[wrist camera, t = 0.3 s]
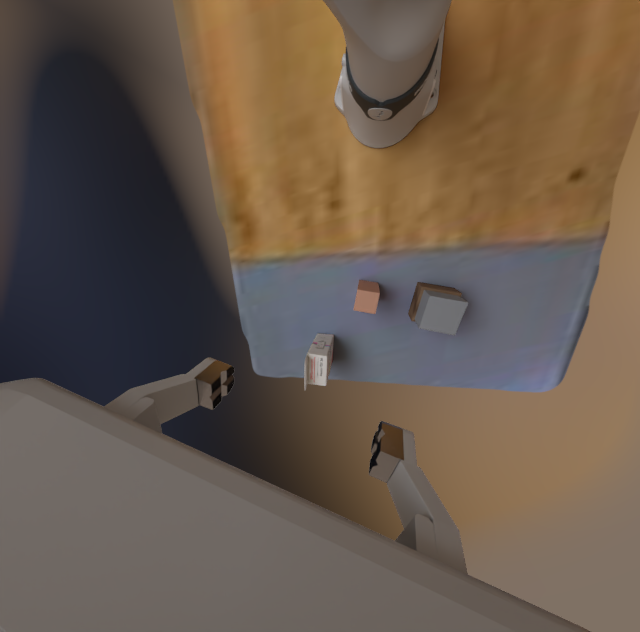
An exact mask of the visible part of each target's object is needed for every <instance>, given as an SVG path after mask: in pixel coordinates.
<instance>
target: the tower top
mask: <svg viewBox="0 0 640 632" xmlns="http://www.w3.org/2000/svg"><path fill="white" fill-rule="evenodd" d="M467 305H468V302H467V301H465V300H464V299H462V298H461V297H460V296H457V295H451V294H446V293H440V292H435V291H429V290H424V291H423V294H422V298H421V301H420V304H419V307H418V310H417V313H416V316H415V319H414V320H415V322H416V324H417V326H418V327H419V328H420V329H425V330H430V331H435V332H440V333H445V334H450V335H455V334H456V332H457V329H458V327H459V324H460V322H461V319H462V317H463V314H464V312H465V310H466V307H467Z"/></svg>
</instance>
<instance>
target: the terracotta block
mask: <svg viewBox="0 0 640 632" xmlns="http://www.w3.org/2000/svg"><path fill="white" fill-rule="evenodd" d="M379 295H380V291H379V285H378V283H376V282H370V281H364V280H359V285H358V290H357V295H356V300H355V305H354V310H356V311H361V312H366V313H372V314H375V312H376V308H377V304H378V300H379Z"/></svg>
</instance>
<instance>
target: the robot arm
mask: <svg viewBox="0 0 640 632" xmlns="http://www.w3.org/2000/svg"><path fill="white" fill-rule="evenodd" d="M323 1H324V2H325V3H326V5H327V6H328V7H329V9H330V10H331V11H332V13H333V14H334V16H335V17H336V18H337V20H338V22H339V23H340V25H341V27H342V29H343V32H344V36H345V41H346V54H343V58H342V66H343V67H342V71H341V75H340V79H339V82H338V86H337V90H336V93H335V105H336V107H337V108H338V110H339V111H340V112H341V113H342V114H343V115H344V116H345V118H346V120H347V122H348V125H349V128H350V130H351V132H352V133H353V135H354V136H355V137H356V138H357V139H358V140H359V141H360V142H361V143H363V144H364V145H366V146H369V147H373V148H384V147H388V146H391V145H394V144H396V143H397V142H399V141H400V140H402V139H403V138H404V137H405V136H407V135H408V134H409V132H410V131H411V130H412V129H413V128H414V126H415V125H416V124H417V123H418V122H419V121H420V120H422V119H423V118H425V117H426V116H428V115H430V114H431V113H432V112H433V111H434V110H435V109H436V106H437V103H438V94H439V83H440V71H441V60H442V48H443V37H444V26H445V18H446V15H447V13H448V10H449V7H450V4H451V0H323ZM431 95H433V97H432V98H430V97H431ZM233 373H234V367H233V366H230V365H228V364H225V363H223V362H220V361H218V360H215V359H212V358H210V357H209V358H206V359H205V360H204V361H202V362H201V363H200V364H199V365H197V366H196V367H195V368H193V369H192V370H191V371H190V372H188V373H187V374H186V375H184V374H181V375H178V376H174V377H171V378H167V379H164V380H160V381H157V382H153V383H149V384H146V385H143V386H139V387H135V388H132V389H130V390H128V391H127V392H125V393H124V394H122V395H121V396H120V397H118V398H116V399H115V400H113V401H112V402H110V403H109V404H107V405H106V406H105V407H103V406H101V405H99V404H96V403H94V402H92V401H90V400H88V399H86V398H83V397H81V396H79V395H77V394H75V393H73V392H70V391H68V390H66V389H64V388H62V387H60V386H57V385H55V384H53V383H51V382H49V381H46V380H44V379H41V378H32V379H24V380H17V381H12V382H6V383H1V384H0V632H590V631H588V630H587V629H585V628H583V627H581V626H579V625H576V624H574V623H572V622H570V621H568V620H565V619H563V618H561V617H559V616H557V615H555V614H552V613H550V612H548V611H546V610H544V609H541V608H539V607H537V606H535V605H533V604H531V603H528V602H526V601H524V600H522V599H520V598H518V597H515V596H513V595H511V594H509V593H507V592H505V591H502V590H500V589H498V588H496V587H494V586H492V585H489V584H487V583H485V582H483V581H481V580H478V579H476V578H474V577H472V576H470V575H468V573H467V568H466V564H465V558H464V554H463V549H462V543H461V538H460V534H459V530H458V528H457V526H456V525H455V523H454V522H453V520H452V518H451V517H450V515H449V513H448V512H447V510H446V509H445V507H444V505H443V504H442V502H441V500H440V499H439V497H438V496H437V494H436V492H435V491H434V489H433V487H432V486H431V484H430V483H429V481H428V479H427V478H426V476H425V475H424V473H423V471H422V470H421V468H420V467H417V462H416V451H415V441H414V434H413V432H411V431H408V430H405V429H402V428H400V427H397V426H394V425H391V424H389V423H386V422H383V421H381V422H380V424H379V426H378V431H376V433H375V435H374V438H373V441H372V447H371V452H372V455H373V456H372V458H371V460H370V467H369V475H370V476H372V477H375V478H377V479H379V480H381V481H384V482H386V483H387V486H388V488H389V491H390V494H391V496H392V499H393V501H394V503H395V506H396V509H397V512H398V514H399V517H400V519H401V522H402V525H403V527H404V530H403V531H402V533H401V534H400V535H399V536H398V538H397V539H396V540H395V541H394V540H392V539H389V538H387V537H385V536H383V535H381V534H379V533H376V532H374V531H372V530H370V529H368V528H365V527H363V526H361V525H359V524H357V523H355V522H353V521H350V520H348V519H346V518H344V517H342V516H340V515H337V514H335V513H332V512H331V511H329V510H326V509H324V508H322V507H320V506H318V505H316V504H313V503H311V502H309V501H307V500H305V499H303V498H300V497H298V496H296V495H294V494H292V493H289V492H287V491H285V490H283V489H281V488H278V487H277V486H274V485H272V484H270V483H268V482H266V481H264V480H261V479H259V478H257V477H255V476H252V475H251V474H248V473H246V472H244V471H242V470H240V469H237V468H235V467H233V466H231V465H229V464H227V463H224V462H222V461H220V460H218V459H216V458H213V457H211V456H209V455H207V454H204V453H203V452H201V451H198V450H196V449H194V448H192V447H190V446H187V445H185V444H183V443H181V442H179V441H177V440H174V439H172V438H170V437H168V436H166V435H164V434H162V430H161V426H160V424H162V423H164V422H166V421H168V420H170V419H172V418H174V417H176V416H178V415H180V414H182V413H184V412H186V411H189V410H191V409H193V408H194V407H197V406H199V405H201V406H204V407H207V408H209V409H212V410H213V409H214V408H215V407H216V406H217V405H218V404H219V403H220V402H221V400H222V396H225V395H227V394H228V393H229V392H230V391H231V388H232V387H233V385H234V377H233V375H232V374H233Z"/></svg>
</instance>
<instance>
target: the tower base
mask: <svg viewBox="0 0 640 632" xmlns="http://www.w3.org/2000/svg"><path fill="white" fill-rule="evenodd" d="M424 290H429V291H435V292H440V293H446V294H451V295H457V296H460V297H461V294H462V293H461V292H459V291H458V290H456V289H455V288H451V287H445V286H439V285H433V284H427V283H421V282H417V286H416V289H415V292H414V296H413V299H412V303H411V306H410V309H409V313H408V314H409V317H410V319H411V321H415V320H414V319H415V316H416V313H417V310H418V307H419V304H420V301H421V298H422V294H423V291H424Z"/></svg>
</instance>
